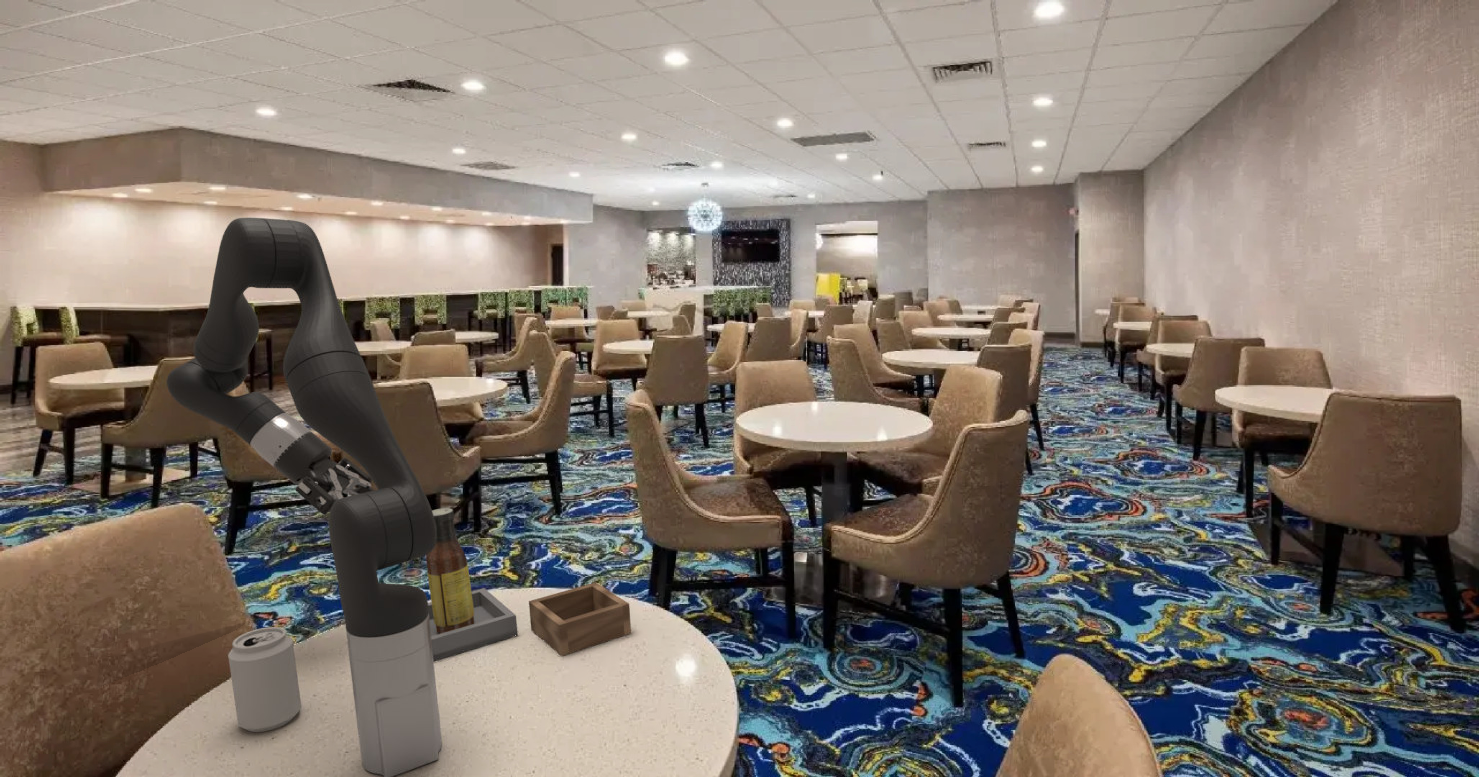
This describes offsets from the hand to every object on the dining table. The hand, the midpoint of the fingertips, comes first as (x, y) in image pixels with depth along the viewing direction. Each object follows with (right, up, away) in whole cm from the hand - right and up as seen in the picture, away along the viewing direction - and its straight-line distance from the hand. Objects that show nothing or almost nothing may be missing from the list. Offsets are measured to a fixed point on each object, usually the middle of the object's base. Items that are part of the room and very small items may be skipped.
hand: (372, 514), depth 132 cm
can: (-4, -25, -21) cm, 33 cm away
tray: (+12, -20, +3) cm, 24 cm away
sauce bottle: (+12, -19, +3) cm, 23 cm away
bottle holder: (+33, -19, +2) cm, 38 cm away
